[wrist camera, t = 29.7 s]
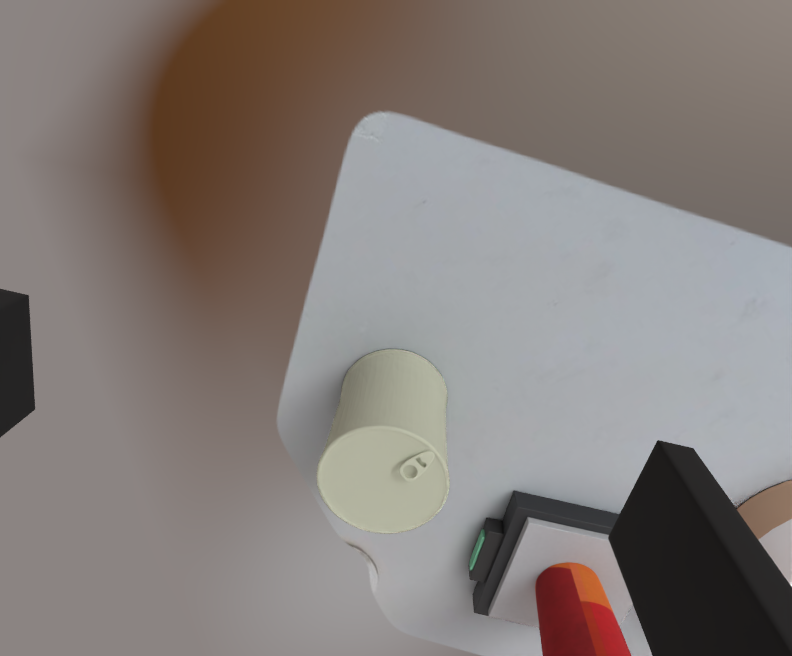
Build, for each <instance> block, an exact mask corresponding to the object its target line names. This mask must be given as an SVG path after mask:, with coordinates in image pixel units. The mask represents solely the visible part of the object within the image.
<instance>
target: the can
mask: <svg viewBox="0 0 792 656" xmlns="http://www.w3.org/2000/svg"><path fill="white" fill-rule="evenodd" d="M446 406H447V389H446V385H445V382H444V380H443V378H442V376H441V374H440V373H439V372H438V370H437V369H436V368H435V367H434V366H433V365H432V364H431V363H430V362H429V361H427V360H426V359H424V358H423V357H421V356H419V355H417V354H415V353H412V352H409V351H405V350H398V349H386V350H380V351H376V352H373V353H370V354H368V355H366V356H364V357H362V358H361V359H360V360H358V361H357V362H356V363H355V364H354V365H353V366H352V367H351V368H350V369H349V371H348V372H347V374H346V376H345V378H344V381H343V384H342V390H341V398H340V401H339V404H338V407H337V411H336V414H335V417H334V420H333V424H332V427H331V430H330V433H329V436H328V439H327V442H326V445H325V448H324V451H323V453H322V455H321V457H320V460H319V463H318V467H317V485H318V489H319V492H320V495H321V497H322V499H323V500H324V502H325V503H326V505H327V506H328V508H329V509H330V510H331V511H332V512H333V513H334V514H335V515H336V516H337V517H339V518H340V519H342V520H343V521H345V522H346V523H348V524H350V525H352V526H354V527H356V528H359V529H361V530H365V531H368V532H374V533H384V534H391V533H400V532H405V531H409V530H412V529H415V528H417V527H419V526H421V525H423V524H425V523H426V522H428V521H429V520H431V519H432V518H433V517H434V516H435V515H436V514H437V513H438V512H439V511H440V509H441V508H442V507H443V505H444V503H445V501H446V499H447V496H448V492H449V486H450V480H449V472H448V464H447V442H446Z"/></svg>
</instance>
